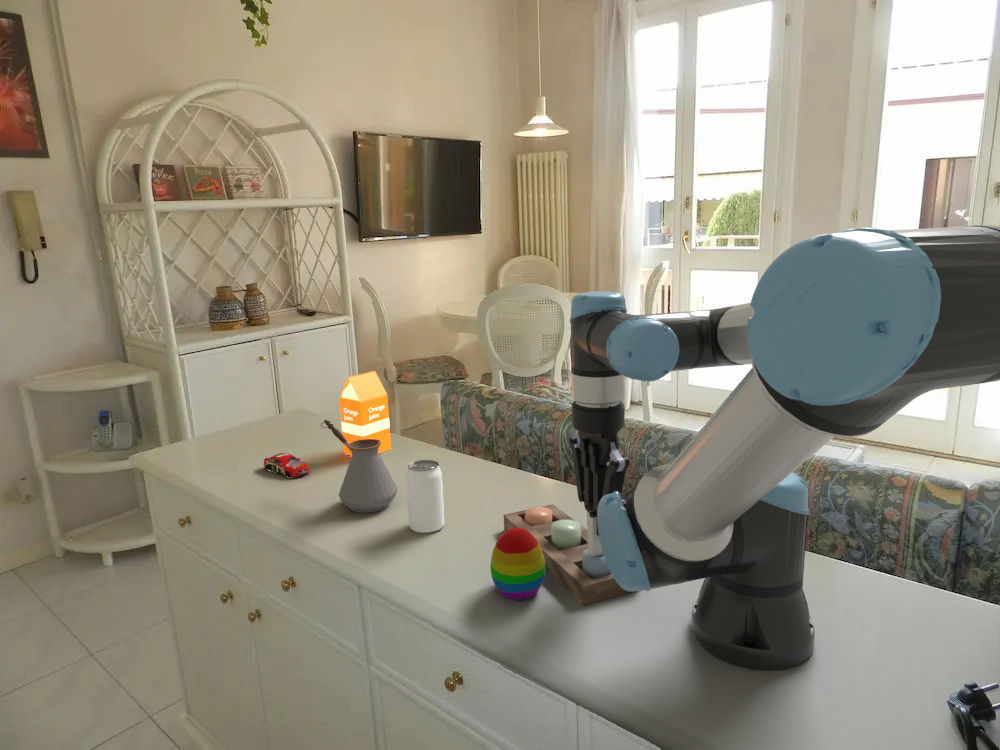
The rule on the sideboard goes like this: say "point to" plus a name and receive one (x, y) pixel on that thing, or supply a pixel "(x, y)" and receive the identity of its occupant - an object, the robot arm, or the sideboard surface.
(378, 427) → the orange juice
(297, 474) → the race car
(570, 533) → the sage button
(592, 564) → the slate blue button
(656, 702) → the sideboard surface
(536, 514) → the terracotta button
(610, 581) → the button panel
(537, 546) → the decorative egg
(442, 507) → the can
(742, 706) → the sideboard surface
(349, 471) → the coffee pot
